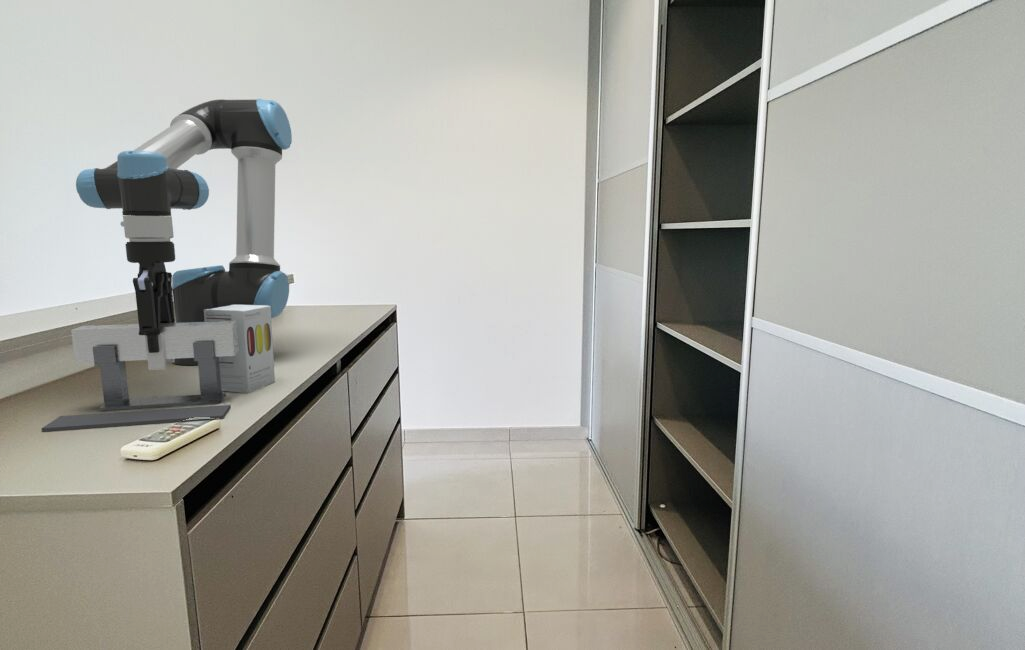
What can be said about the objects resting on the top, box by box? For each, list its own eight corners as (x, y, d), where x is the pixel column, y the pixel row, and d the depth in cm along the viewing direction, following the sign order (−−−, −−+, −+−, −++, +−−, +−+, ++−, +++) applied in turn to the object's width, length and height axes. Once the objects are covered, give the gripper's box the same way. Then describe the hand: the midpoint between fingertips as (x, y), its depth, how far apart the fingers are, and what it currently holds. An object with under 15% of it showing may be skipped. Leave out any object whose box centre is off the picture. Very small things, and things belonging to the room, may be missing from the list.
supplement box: (248, 393, 117) (242, 310, 114) (208, 391, 118) (201, 309, 116) (276, 381, 126) (271, 304, 123) (238, 379, 128) (233, 303, 125)
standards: (112, 401, 111) (105, 340, 109) (226, 394, 116) (222, 335, 114) (97, 412, 104) (89, 347, 102) (219, 404, 109) (214, 342, 107)
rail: (86, 357, 107) (82, 325, 106) (238, 351, 114) (236, 320, 113) (75, 363, 103) (71, 329, 102) (234, 355, 110) (232, 324, 109)
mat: (60, 419, 100) (60, 416, 100) (230, 407, 107) (230, 404, 107) (41, 431, 94) (41, 428, 94) (223, 418, 101) (222, 415, 101)
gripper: (143, 239, 112) (155, 357, 116) (106, 241, 96) (121, 378, 99) (186, 239, 114) (196, 355, 118) (157, 241, 98) (169, 376, 101)
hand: (161, 365), depth 109 cm, fingers closed on rail, 4 cm apart
